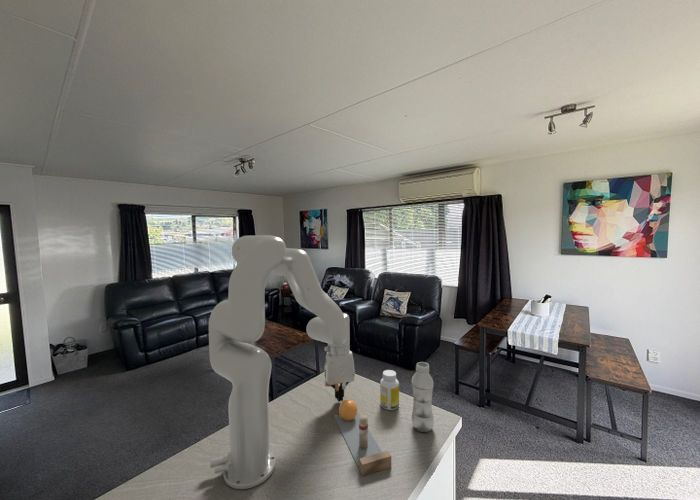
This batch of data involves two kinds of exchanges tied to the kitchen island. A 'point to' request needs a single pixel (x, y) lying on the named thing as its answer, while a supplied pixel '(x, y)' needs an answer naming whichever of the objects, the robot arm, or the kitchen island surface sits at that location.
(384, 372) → the pill bottle
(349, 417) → the ball
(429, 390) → the plastic bottle
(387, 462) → the back wall
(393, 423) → the kitchen island surface
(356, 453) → the plate
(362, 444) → the pin
